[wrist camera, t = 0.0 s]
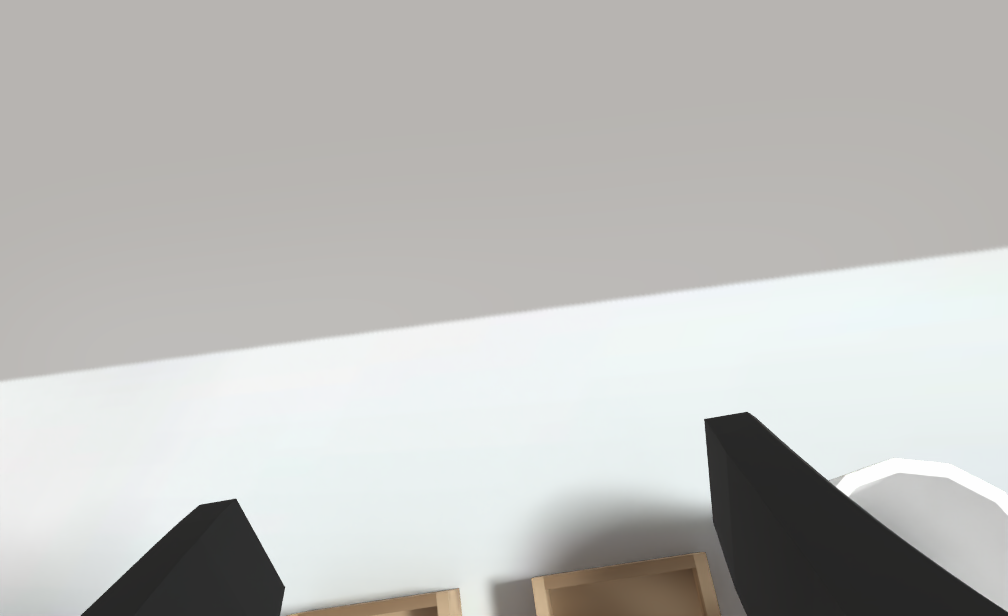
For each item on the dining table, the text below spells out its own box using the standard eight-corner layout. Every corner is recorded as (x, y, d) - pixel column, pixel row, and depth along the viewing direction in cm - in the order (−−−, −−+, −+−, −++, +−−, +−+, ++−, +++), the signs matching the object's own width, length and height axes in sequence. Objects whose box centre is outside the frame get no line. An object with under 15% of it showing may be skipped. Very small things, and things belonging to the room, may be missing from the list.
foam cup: (715, 593, 37) (764, 613, 25) (784, 458, 39) (859, 417, 27) (878, 699, 34) (1023, 780, 22) (943, 546, 36) (1109, 545, 24)
